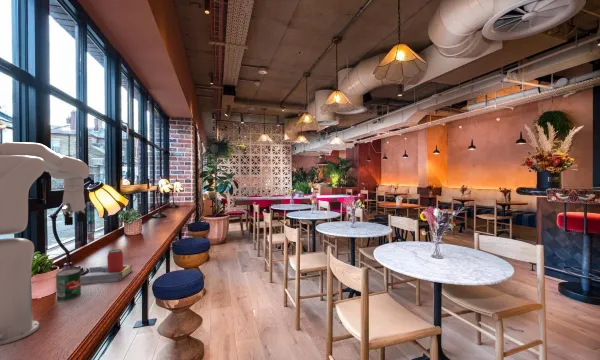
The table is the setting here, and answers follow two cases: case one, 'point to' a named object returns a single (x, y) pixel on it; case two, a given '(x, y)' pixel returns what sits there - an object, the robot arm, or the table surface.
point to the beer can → (115, 261)
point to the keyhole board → (104, 274)
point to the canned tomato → (68, 284)
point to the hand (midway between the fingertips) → (75, 223)
